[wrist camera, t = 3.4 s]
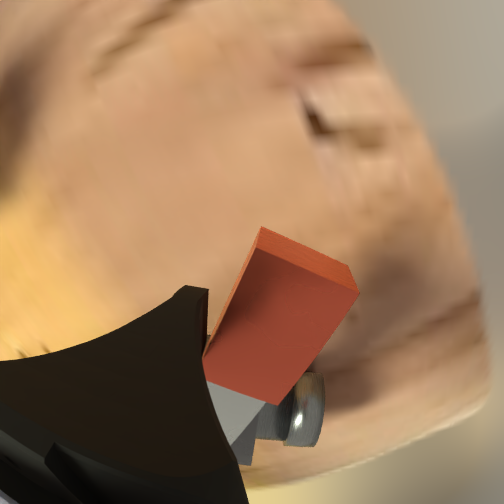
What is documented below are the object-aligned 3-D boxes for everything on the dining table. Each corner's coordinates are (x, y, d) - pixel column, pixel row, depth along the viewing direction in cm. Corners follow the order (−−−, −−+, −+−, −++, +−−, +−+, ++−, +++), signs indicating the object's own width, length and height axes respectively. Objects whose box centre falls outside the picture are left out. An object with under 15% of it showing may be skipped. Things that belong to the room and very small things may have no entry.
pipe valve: (305, 410, 19) (306, 469, 14) (134, 383, 20) (107, 432, 15) (323, 347, 17) (331, 413, 12) (119, 319, 18) (80, 369, 13)
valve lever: (216, 455, 14) (210, 481, 12) (163, 435, 14) (153, 461, 12) (350, 266, 9) (363, 296, 8) (258, 224, 9) (251, 247, 7)
